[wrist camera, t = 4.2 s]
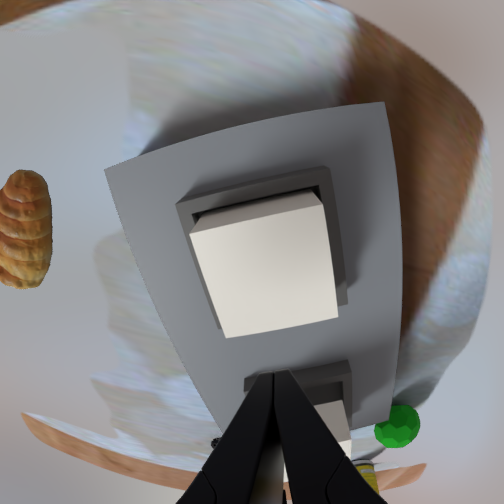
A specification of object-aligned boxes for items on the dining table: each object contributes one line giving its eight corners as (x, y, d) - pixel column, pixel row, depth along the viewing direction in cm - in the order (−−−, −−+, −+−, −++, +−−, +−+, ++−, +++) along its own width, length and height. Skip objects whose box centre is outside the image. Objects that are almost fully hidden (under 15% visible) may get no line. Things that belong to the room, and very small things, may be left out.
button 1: (343, 437, 17) (349, 470, 14) (275, 449, 18) (275, 482, 15) (342, 399, 15) (351, 439, 13) (260, 413, 16) (259, 454, 13)
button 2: (325, 283, 15) (338, 317, 12) (231, 302, 15) (226, 338, 13) (309, 188, 13) (323, 204, 10) (203, 212, 14) (189, 233, 11)
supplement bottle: (353, 457, 30) (364, 517, 21) (379, 459, 31) (392, 514, 22) (327, 472, 32) (334, 529, 23) (354, 474, 33) (363, 526, 24)
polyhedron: (404, 418, 27) (415, 449, 22) (366, 426, 27) (374, 459, 22) (417, 391, 25) (432, 425, 20) (376, 400, 25) (388, 437, 20)
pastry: (14, 156, 17) (-19, 164, 13) (69, 183, 18) (37, 196, 14) (4, 252, 20) (-21, 270, 16) (53, 285, 21) (29, 308, 17)
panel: (377, 388, 24) (391, 430, 19) (235, 414, 26) (231, 458, 21) (358, 107, 15) (394, 99, 10) (134, 160, 17) (92, 173, 12)
